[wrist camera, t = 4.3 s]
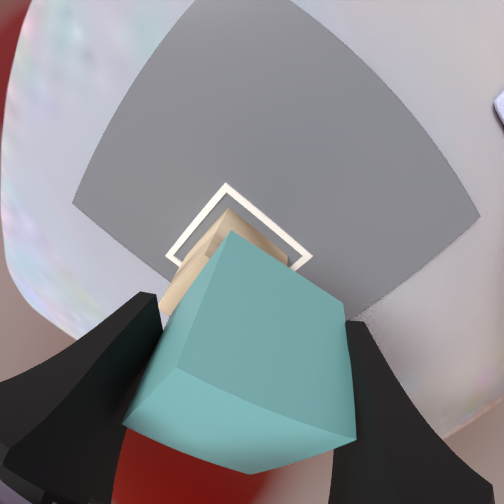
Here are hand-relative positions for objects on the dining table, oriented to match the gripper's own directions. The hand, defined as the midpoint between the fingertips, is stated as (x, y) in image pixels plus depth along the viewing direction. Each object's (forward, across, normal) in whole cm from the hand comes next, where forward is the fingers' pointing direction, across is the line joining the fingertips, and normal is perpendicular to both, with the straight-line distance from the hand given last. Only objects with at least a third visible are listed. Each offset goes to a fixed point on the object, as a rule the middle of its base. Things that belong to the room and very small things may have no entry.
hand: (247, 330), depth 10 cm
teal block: (+1, 0, 0) cm, 1 cm away
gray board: (+9, 0, -1) cm, 9 cm away
